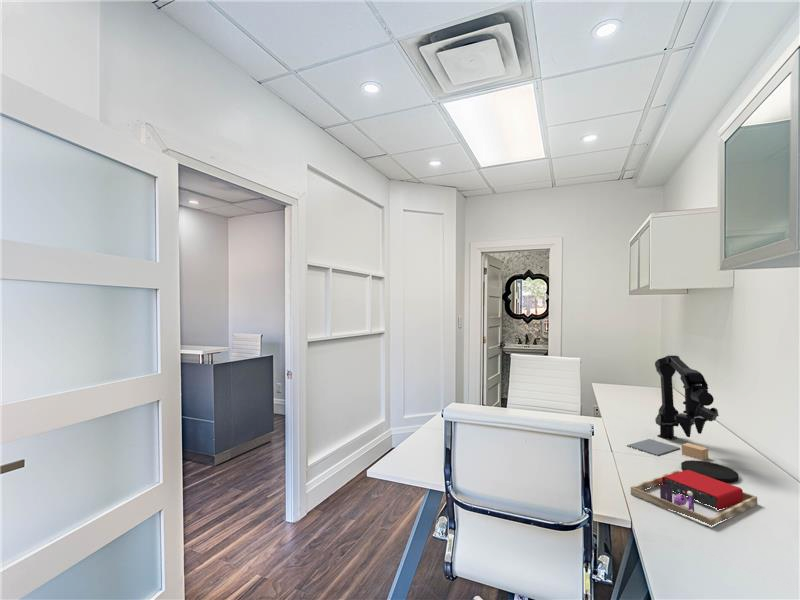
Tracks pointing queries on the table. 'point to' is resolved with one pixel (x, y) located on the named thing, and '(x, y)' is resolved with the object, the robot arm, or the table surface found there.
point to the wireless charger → (711, 470)
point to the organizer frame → (737, 509)
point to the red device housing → (705, 489)
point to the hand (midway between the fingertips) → (694, 435)
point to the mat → (653, 447)
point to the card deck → (695, 451)
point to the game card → (677, 496)
